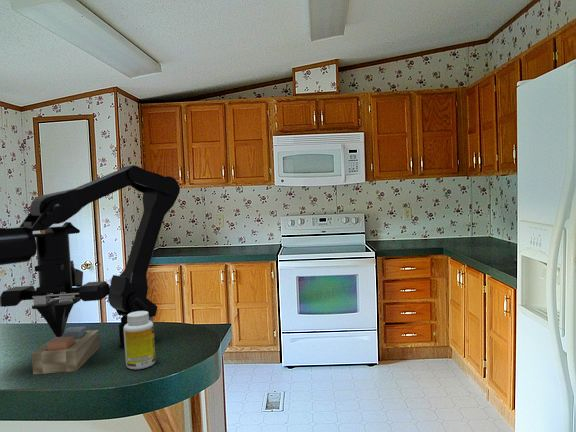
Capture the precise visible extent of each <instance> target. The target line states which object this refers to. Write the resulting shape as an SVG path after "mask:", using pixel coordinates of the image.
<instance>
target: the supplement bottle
mask: <svg viewBox="0 0 576 432" xmlns="http://www.w3.org/2000/svg"><path fill="white" fill-rule="evenodd" d="M154 329H155V327H154V322H152V321H150V320H149V314H148V312H147V311H136V312H132V313H129V314H128V315H127V324H126V325H125V326H124V345H125V347H124V357H125V366H126V367H127V368H128V369H130V370H142V369H146V368H149V367H151V366H153V365H154V364H155V363H156V361H157V360H156V347H155V346H156V343H155V338H154V335H155V331H154Z"/></svg>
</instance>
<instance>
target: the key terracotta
mask: <svg viewBox="0 0 576 432" xmlns="http://www.w3.org/2000/svg"><path fill="white" fill-rule="evenodd" d="M53 338H54V339H53ZM53 338H52V339H53V340H52V339H50V340H51V341H50V340H49V341H50V342H49V341H48V342H49V343H48V342H46V343H47V351H52V350H65V349H69V348H70V347H71V346H72V345H74V336H73V337H60V338H55V337H53Z"/></svg>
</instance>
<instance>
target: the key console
mask: <svg viewBox="0 0 576 432" xmlns="http://www.w3.org/2000/svg"><path fill="white" fill-rule="evenodd" d="M54 338H60V337H56V336H55V337H53V338H52V339H50V340H49V341H48V342H46V343H44V345H42V346H41V347H39V348H38V349H37V350H35V351H34V352H31V361H32V373H33V374H32V375H44V374H54V373H69V372H77V371H78V370H79V369H80V368H81V367H82V366H83V365H84V364H85V363H86V362H87V361H88V360H89V359H90V358H91V357H92V356H93V355H94V354H95V353H96V352H97V351H98V350H100V348H101V347H100V346H101V345H100V344H101V343H100V331H99V329H94V330H93V329H92V330H91V329H90V330H86V335H84V336H83V337H82V338H81V339H74V345H72V346H71V347H70V348H69V349H65V350H52V351H47V343H49V342H50V341H51V340H53V339H54Z"/></svg>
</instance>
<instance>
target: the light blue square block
mask: <svg viewBox="0 0 576 432" xmlns="http://www.w3.org/2000/svg"><path fill="white" fill-rule="evenodd" d="M86 331H87V329H86V326H85V325H83V326H72V327H67V328H65V330H64V333H63V336H61V337H73V336H74V339H81V338H82V337H83V336H84V335H86Z"/></svg>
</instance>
